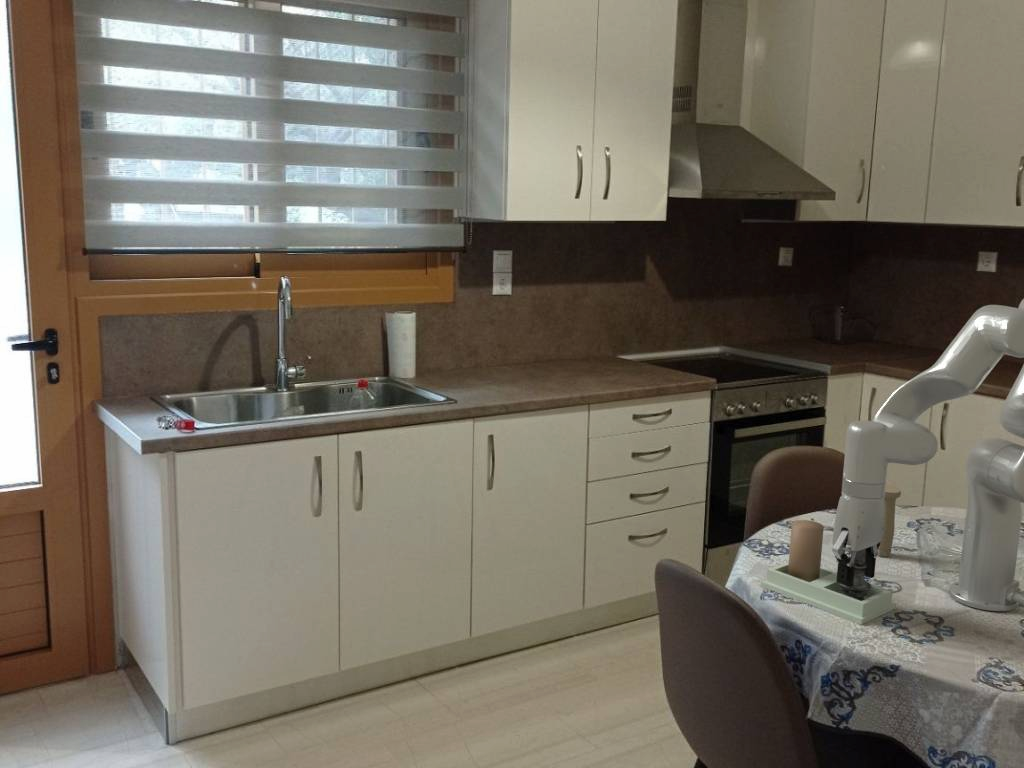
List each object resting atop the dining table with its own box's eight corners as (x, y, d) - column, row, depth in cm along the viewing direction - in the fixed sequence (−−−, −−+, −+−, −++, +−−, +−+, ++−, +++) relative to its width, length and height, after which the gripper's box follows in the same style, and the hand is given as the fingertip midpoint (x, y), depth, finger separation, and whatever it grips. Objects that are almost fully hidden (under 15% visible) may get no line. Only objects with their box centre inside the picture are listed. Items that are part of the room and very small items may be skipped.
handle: (872, 558, 213) (878, 491, 210) (868, 548, 219) (874, 483, 216) (895, 561, 212) (902, 493, 209) (892, 550, 218) (898, 485, 215)
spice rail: (896, 608, 187) (902, 542, 185) (861, 624, 180) (867, 556, 177) (796, 572, 204) (801, 512, 202) (760, 586, 197) (765, 523, 194)
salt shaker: (871, 609, 184) (877, 547, 182) (838, 606, 185) (844, 544, 183) (867, 596, 190) (872, 537, 188) (835, 593, 191) (840, 534, 189)
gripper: (870, 475, 192) (862, 564, 195) (818, 491, 181) (811, 584, 184) (907, 485, 186) (898, 575, 189) (855, 501, 175) (847, 597, 179)
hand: (855, 579), depth 187 cm, fingers open, 6 cm apart
